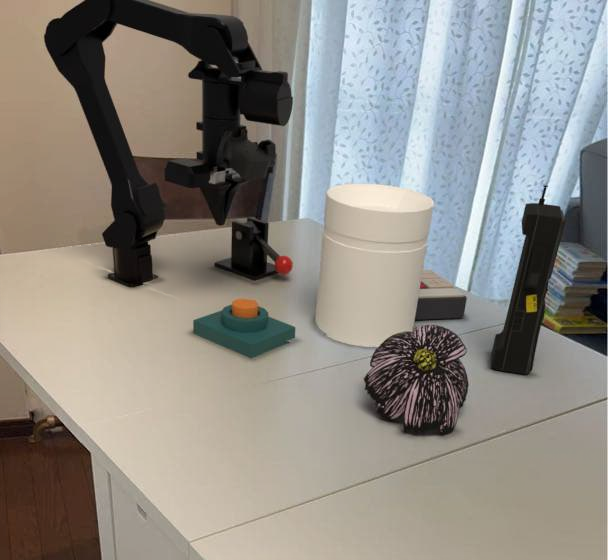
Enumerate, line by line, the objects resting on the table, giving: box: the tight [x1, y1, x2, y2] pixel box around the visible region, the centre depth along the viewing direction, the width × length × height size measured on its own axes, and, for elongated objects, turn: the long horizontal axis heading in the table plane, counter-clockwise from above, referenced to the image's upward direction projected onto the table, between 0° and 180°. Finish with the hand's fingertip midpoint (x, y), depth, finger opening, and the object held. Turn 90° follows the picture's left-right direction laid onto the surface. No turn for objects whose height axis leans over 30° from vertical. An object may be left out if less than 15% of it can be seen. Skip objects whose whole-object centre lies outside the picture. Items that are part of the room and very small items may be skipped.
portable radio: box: [490, 184, 566, 376], centre depth 114 cm, size 8×6×25 cm
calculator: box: [415, 269, 468, 321], centre depth 139 cm, size 11×4×15 cm
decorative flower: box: [363, 324, 470, 436], centre depth 104 cm, size 14×12×15 cm
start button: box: [231, 298, 260, 318], centre depth 120 cm, size 4×4×2 cm
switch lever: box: [243, 221, 294, 276], centre depth 142 cm, size 12×3×3 cm, turn 51°
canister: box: [314, 183, 435, 348], centre depth 124 cm, size 16×16×20 cm
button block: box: [192, 304, 296, 359], centre depth 122 cm, size 12×10×4 cm
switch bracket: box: [213, 216, 279, 282], centre depth 145 cm, size 10×8×9 cm
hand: (220, 224), depth 128 cm, fingers closed
